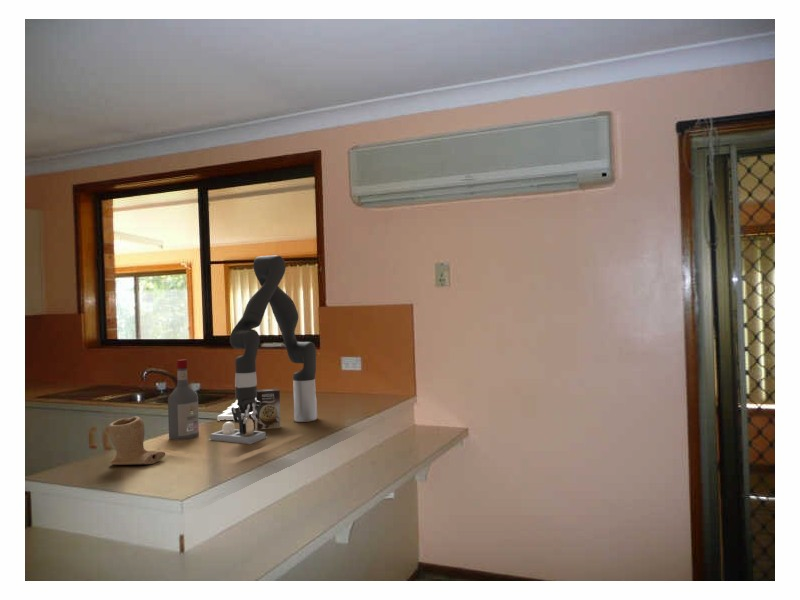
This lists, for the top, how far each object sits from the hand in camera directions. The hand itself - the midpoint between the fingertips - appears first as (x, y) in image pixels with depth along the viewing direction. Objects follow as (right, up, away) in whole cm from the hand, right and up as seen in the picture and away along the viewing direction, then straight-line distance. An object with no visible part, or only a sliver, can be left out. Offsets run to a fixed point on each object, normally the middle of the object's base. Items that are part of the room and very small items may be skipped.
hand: (247, 432), depth 205 cm
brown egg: (0, -1, 0) cm, 1 cm away
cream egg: (-8, -3, +4) cm, 9 cm away
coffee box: (+3, -4, +19) cm, 20 cm away
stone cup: (-30, -5, -22) cm, 38 cm away
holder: (-20, -5, +63) cm, 66 cm away
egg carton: (-4, -4, +2) cm, 6 cm away
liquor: (-25, -5, +7) cm, 27 cm away
